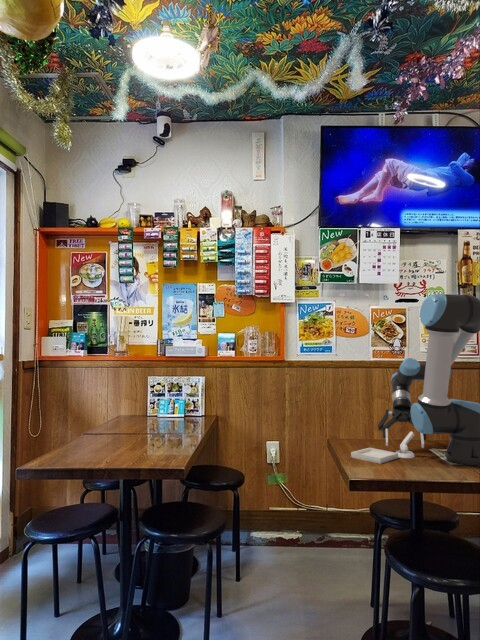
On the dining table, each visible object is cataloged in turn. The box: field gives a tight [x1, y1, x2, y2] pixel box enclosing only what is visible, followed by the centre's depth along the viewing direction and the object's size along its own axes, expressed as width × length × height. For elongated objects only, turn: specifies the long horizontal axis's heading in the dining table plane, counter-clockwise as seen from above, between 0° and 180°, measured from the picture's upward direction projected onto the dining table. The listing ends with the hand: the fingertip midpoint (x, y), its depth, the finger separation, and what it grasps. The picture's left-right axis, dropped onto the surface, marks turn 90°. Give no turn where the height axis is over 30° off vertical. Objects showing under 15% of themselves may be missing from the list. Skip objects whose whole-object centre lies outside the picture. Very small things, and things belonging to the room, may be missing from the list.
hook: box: [395, 431, 415, 459], centre depth 178 cm, size 8×12×7 cm
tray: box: [350, 447, 399, 465], centre depth 175 cm, size 13×13×2 cm
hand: (404, 445), depth 177 cm, fingers open, 13 cm apart
